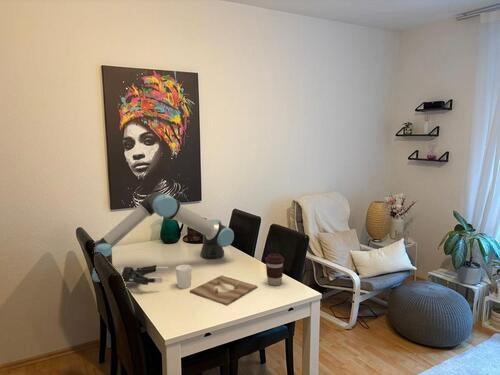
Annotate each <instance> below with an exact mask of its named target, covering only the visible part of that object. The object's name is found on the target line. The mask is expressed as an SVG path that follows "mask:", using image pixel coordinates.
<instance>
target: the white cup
mask: <svg viewBox="0 0 500 375" xmlns="http://www.w3.org/2000/svg"><path fill="white" fill-rule="evenodd" d="M175 274H176V275H175V276H176V283H177V288H178V289H187V288H190V287H191V285H192V266H191V265H189V264H180V265H177V266H175Z"/></svg>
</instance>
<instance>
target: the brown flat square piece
mask: <svg viewBox="0 0 500 375" xmlns="http://www.w3.org/2000/svg"><path fill="white" fill-rule="evenodd" d="M256 289H258V285H257V284H256V285H255V284H252V283H248V282H247V281H246V282H245V281H242V280H239V279H236V278H232V277H228V276H224V275H218V277H215V278H213V279H211V280H209V281H207V282H205V283H202V284H201V285H198V286H196V287H194V288H192V289H190V290H189V293H191V294H193V295H196V296H198V297H202V298H203V299H204V298H205V299H208V300H210V301H212V302H216V303H219V304H222V305H225V306H229V305H231V304H232V303H234V302H236V301H238V300H240V299H241V298H243V297H244V296H246V295H247V294H249V293H251V292H253V291H254V290H256Z"/></svg>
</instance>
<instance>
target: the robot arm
mask: <svg viewBox="0 0 500 375" xmlns="http://www.w3.org/2000/svg"><path fill="white" fill-rule="evenodd" d="M138 203H139V204H138V206H137V207H136V208H135V209H134V210H133V211H132V212H130V213H129V214H128V215H127V216H126V217H125V218H124V219H122V220H121V221H120V222H119V223H118V224H117V225H115V226H114V227H113V228H112V229H111V230H109V232H107V233H106V234H105V235H104V236H103V237H101V238H100V239H99V240H98V239H97V240H95V241H94V242H93V243H95V247H94V253H95V252H101V253H102V254H103V255H104V256H105V257H106V258H107V259H108V261H109V262H110V263H111V264H112V265H113V248H114V246H116V245H117V244H118V243H119V242H120V241H122V239H123V238H125V237H126V236H127V235H128V234H129V233H131V232H132V231H133V230H135V229H136V227H138V225H139V224H141V223H142V222H143V221H144V220H145V219H147V218H148V217H152V216H153V215H154V214H156V215H158V216H160V217H162V218H165V219H166V220H168V221H172V220H175V221H176V222H179V223H180V224H182V225H184V226H187V227H189V228H190V229H192V230H194V231H197V232H198V233H200V234H202V246H201V251H200V257H201V258H202V259H206V260H216V259H217V260H218V259H221V258H223V257H224V256H225V250H224V248H225V247H226V248H227V247H229V246H231V244H232V243H233V241H234V238H235V234H234V231H233V230H232V229H231V228H230V227H227V226H225V225H224V224H222V221H221V220H220V219H207V218H205V217H203V216H202V215H200V214H198V213H196V212H194V211H192V210H190V209H188V208H186V207H184V206H183V205H182V203H181V201H179V200H177V199H176V198H174V197H173V196H171V195H169V194H166V193H164V192H161V191H155V192H151V193H150V194H149V195H147V196H146V197H145V198H144V199H142V200H141V201H140V202H138ZM113 266H114V265H113ZM114 267H115V269H116V270H117V271H118V272H119V273H120V274H121V276H122V277H123V279H124V281H125V282H124V281H123V282H124V283H134V284H140V285H143V286H145V285H147V286H148V285H149V284H151V283H152V284H156V283H157V284H161V283H163V277H161V276H148V277H147V276H145V275H148V274H152V273H160V274H161V273H169V266H157V265H156V264H155V265H150V266H143V267H141V266H140V267H136V269H134V268H133V267H132V266H125V267H124V266H114ZM91 278H92V280H93V281H94V282H97V283H98V282H99V283H101V282H100V279H99V276H98V274H97V273H96V271H95V267H94V268H93V269H92V274H91Z"/></svg>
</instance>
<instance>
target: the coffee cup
mask: <svg viewBox="0 0 500 375" xmlns="http://www.w3.org/2000/svg"><path fill="white" fill-rule="evenodd" d="M264 262H265V267H266V276H267V277H266V278H267V279H266V280H267V284H268V285H270V286H275V287H277V286H280V285H281V284H282V282H283V276H284V263H285V258H284V257H283V256H282V255H281V254H279V253H270V254H268V255H267V256H266V257H265V258H264Z"/></svg>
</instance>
